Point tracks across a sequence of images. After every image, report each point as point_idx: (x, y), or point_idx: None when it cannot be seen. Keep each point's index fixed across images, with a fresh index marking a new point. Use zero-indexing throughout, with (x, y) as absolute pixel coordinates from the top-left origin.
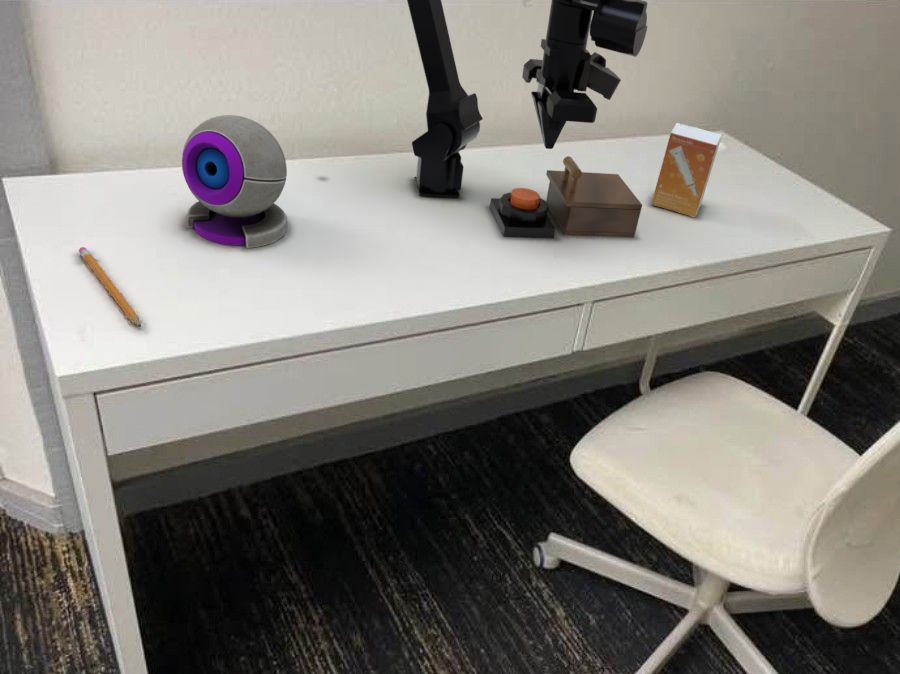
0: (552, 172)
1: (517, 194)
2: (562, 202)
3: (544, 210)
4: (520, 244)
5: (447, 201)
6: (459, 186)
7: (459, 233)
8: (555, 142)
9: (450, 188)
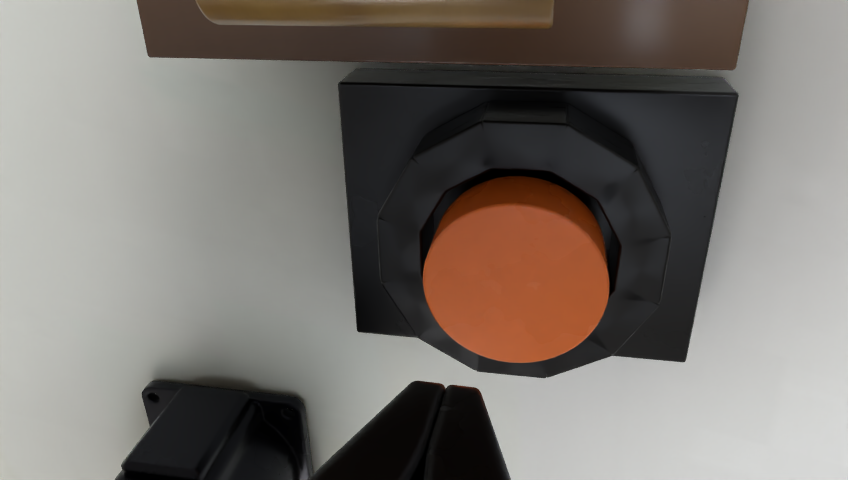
0: (180, 24)
1: (525, 339)
2: None
3: (636, 173)
4: (761, 275)
5: (334, 439)
6: (243, 409)
7: (623, 477)
8: (498, 444)
9: (271, 444)
